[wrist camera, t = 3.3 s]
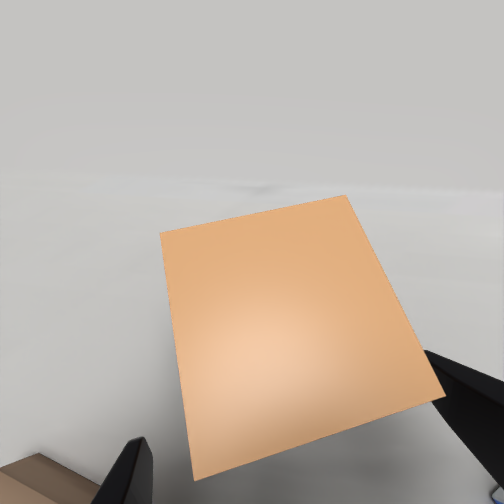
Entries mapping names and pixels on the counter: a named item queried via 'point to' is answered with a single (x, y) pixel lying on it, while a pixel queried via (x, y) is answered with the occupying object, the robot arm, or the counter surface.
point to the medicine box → (499, 496)
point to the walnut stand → (43, 483)
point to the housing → (286, 333)
